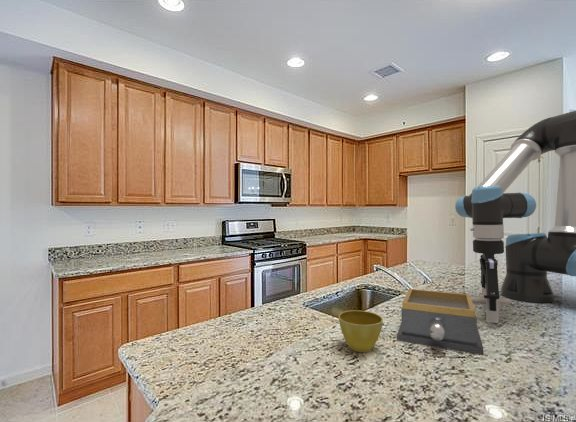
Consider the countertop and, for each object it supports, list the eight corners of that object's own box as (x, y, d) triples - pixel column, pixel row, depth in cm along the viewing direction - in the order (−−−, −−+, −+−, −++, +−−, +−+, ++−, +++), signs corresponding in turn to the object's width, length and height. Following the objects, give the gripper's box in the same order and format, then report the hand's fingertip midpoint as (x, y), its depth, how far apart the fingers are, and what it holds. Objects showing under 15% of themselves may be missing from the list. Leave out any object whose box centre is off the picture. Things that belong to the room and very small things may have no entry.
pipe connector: (518, 325, 82) (517, 288, 82) (478, 323, 84) (477, 287, 84) (500, 313, 92) (499, 280, 92) (464, 312, 94) (463, 279, 94)
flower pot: (391, 347, 71) (390, 316, 71) (369, 362, 64) (368, 328, 64) (354, 335, 78) (353, 307, 78) (330, 348, 71) (330, 317, 71)
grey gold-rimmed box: (475, 326, 82) (475, 293, 82) (485, 362, 63) (484, 319, 63) (405, 317, 91) (404, 287, 91) (394, 346, 71) (394, 308, 71)
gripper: (469, 235, 100) (471, 303, 99) (476, 242, 79) (478, 327, 79) (497, 236, 96) (499, 306, 96) (511, 243, 76) (513, 331, 76)
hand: (489, 315), depth 88 cm, fingers closed on pipe connector, 10 cm apart
